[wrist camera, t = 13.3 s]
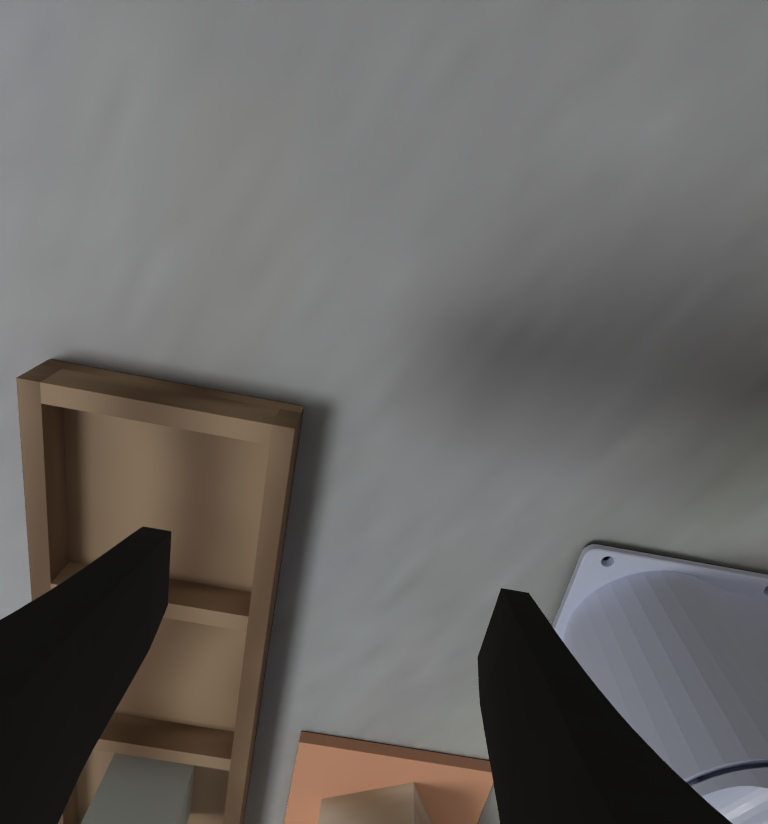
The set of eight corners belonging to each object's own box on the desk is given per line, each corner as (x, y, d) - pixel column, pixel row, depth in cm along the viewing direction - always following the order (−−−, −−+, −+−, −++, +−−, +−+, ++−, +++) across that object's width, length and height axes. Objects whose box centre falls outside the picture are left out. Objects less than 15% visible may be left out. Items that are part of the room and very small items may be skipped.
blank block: (194, 764, 30) (165, 849, 26) (190, 813, 31) (162, 900, 28) (115, 751, 30) (74, 835, 26) (115, 802, 31) (76, 888, 27)
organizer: (303, 406, 22) (294, 428, 20) (240, 840, 33) (231, 880, 31) (48, 359, 22) (16, 378, 20) (69, 815, 33) (49, 854, 31)
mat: (495, 761, 30) (497, 773, 29) (450, 876, 34) (450, 888, 33) (301, 731, 29) (299, 742, 29) (278, 850, 33) (276, 862, 33)
